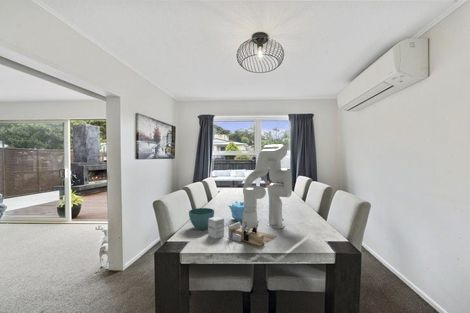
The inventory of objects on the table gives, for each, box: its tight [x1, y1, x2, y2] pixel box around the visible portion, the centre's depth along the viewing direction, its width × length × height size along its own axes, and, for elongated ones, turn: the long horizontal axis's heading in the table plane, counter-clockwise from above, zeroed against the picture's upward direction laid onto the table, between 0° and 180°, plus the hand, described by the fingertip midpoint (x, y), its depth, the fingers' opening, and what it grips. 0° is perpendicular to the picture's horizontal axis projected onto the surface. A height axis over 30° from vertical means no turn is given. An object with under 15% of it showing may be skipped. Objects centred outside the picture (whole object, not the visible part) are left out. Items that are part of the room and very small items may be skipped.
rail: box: [235, 228, 264, 247], centre depth 133 cm, size 4×18×5 cm, turn 51°
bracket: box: [227, 221, 242, 243], centre depth 138 cm, size 11×8×8 cm
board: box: [226, 229, 278, 249], centre depth 139 cm, size 22×23×2 cm
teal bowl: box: [188, 207, 215, 231], centre depth 162 cm, size 18×18×12 cm
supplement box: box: [207, 216, 225, 240], centre depth 142 cm, size 7×7×13 cm
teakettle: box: [227, 200, 244, 224], centre depth 180 cm, size 19×19×15 cm
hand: (250, 238), depth 133 cm, fingers open, 8 cm apart
